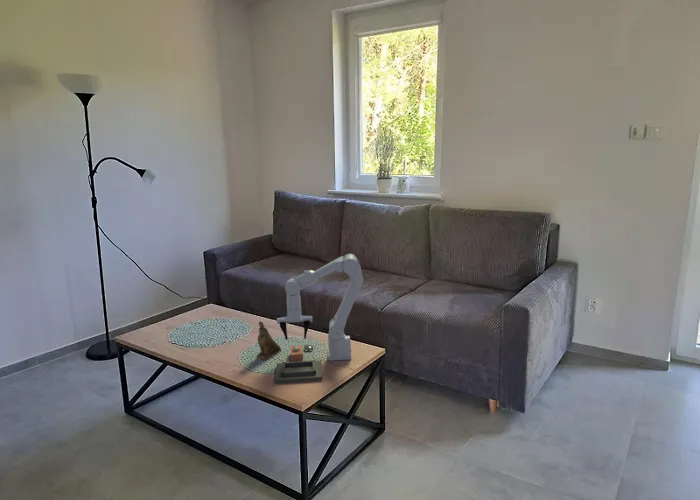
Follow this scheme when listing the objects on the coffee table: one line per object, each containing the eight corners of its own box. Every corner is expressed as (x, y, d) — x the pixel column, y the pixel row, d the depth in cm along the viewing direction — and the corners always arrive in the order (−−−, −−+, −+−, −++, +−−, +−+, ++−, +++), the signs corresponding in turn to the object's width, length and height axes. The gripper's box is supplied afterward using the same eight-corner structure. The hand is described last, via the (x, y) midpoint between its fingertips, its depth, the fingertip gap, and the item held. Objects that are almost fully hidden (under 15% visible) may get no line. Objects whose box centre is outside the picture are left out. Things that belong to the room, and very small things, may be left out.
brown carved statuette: (264, 365, 209) (255, 329, 202) (255, 362, 212) (246, 326, 205) (283, 350, 218) (275, 315, 210) (274, 347, 221) (266, 312, 214)
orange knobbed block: (302, 353, 214) (302, 342, 213) (303, 362, 205) (302, 351, 204) (291, 354, 214) (290, 343, 212) (291, 363, 205) (290, 352, 204)
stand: (321, 363, 203) (321, 357, 203) (322, 380, 190) (322, 373, 189) (277, 366, 202) (276, 360, 201) (274, 383, 188) (274, 376, 188)
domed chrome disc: (313, 347, 220) (313, 344, 219) (313, 351, 216) (313, 348, 216) (304, 348, 219) (304, 345, 219) (304, 352, 216) (304, 348, 215)
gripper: (311, 303, 209) (313, 333, 212) (276, 305, 208) (278, 335, 211) (311, 309, 202) (313, 340, 205) (275, 311, 201) (277, 342, 204)
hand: (295, 338), depth 207 cm, fingers open, 7 cm apart
